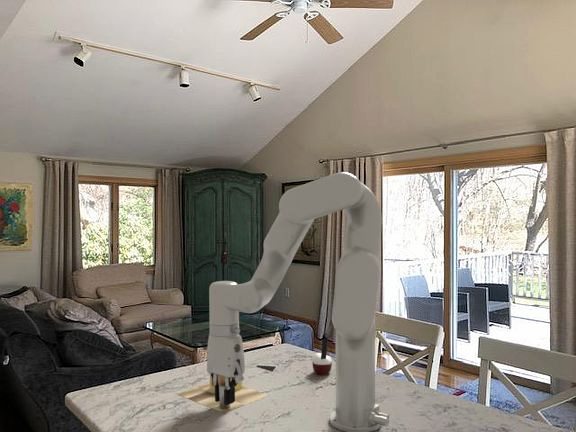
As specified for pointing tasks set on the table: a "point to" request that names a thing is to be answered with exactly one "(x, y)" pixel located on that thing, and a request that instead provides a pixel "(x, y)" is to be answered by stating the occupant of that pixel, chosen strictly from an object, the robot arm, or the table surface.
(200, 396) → the subfloor panel
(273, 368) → the smartphone
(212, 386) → the yellow rectangular block
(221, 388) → the two-tone metal cylinder
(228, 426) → the table surface
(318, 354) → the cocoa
